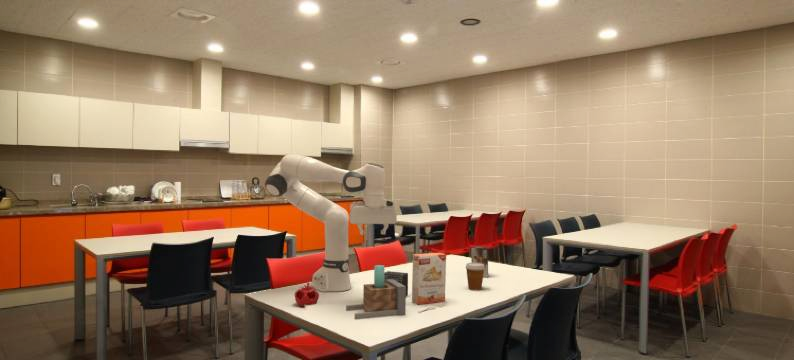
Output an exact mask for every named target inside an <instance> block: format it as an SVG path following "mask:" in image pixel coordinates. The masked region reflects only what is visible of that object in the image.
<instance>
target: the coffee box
mask: <svg viewBox="0 0 794 360" xmlns="http://www.w3.org/2000/svg"><path fill="white" fill-rule="evenodd" d="M470 249H471V250H470V251H471V258H470V259H471V260H470V261H471V262H470V263H482V264H484V267H485V269H484V274H483V278H486V279H487V278H489V247H488V246H476V245H475V246H471V248H470Z"/></svg>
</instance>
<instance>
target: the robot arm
mask: <svg viewBox="0 0 794 360" xmlns="http://www.w3.org/2000/svg"><path fill="white" fill-rule="evenodd" d="M385 171H386V170H385V168H384V167H383V165H381V164H377V163H372V162H369V163H366V164H365V165H364V166H362V167H360V168H357V169H354V170H347V169H343V168H339V167H335V166H332V165H330V164H327V163H325V162H324V161H322V160H318V159H316V158H313V157H310V156H306V155H302V154H295V153H293V154H291V153H289V154H285V155H284V156H283V157H282V158H281V159H280V161H279V162H278V163H277V164H276V166H274V168H273V169H272V171H271V172H270V173H269V175H268V176H267V177H266V179H265V182H264V187H265V190H266V191H267V192H268V193H269V194H271V196H274V197H281V196H282V198H284V199H285V200H286V201H288V203H290V204H291V205H293V207H296V208H297V209H299V210H300V211H302V212H303V213H305V214H306V215H308V216H309V217H312V218H314V219H316V220H318V221H319V222H322V223H323V224H324V239H325V241H324V243H325V244H324V245H325V247H324V249H325V250H324V251H325V252H324V253H325V254H324V255H325V256H324V257H325V258H324V259H321V263H322V266H321V267H320V268H318V270H316V271H315V272H314V273H313V274H312V278H311V279H312V280H311V282H308V283H309V287H310V286H311V287H312V285H313V287H315V288H313V287H312V288H311V289H314V290H316V291H318V292H323V293H324V292H344V291H348V290H351V289H352V283H351V276H350V269H349V268H350V258H349V222H350V224H352V225H357V228H358V229H359V235H360V236H361V235H362V236H364V235H365V230H363V228H362V227H363V225H383V229H381V230H380V234H381V235H386V233H387V232H386V231H387V230H388V228H389V225H395V224H396V223H397V219H398V218H397V214H398V213H397V208H395V206H396V202H395V201H393V200H390V199H389V198H386V197H385V186H386V172H385ZM300 181H302V182H307V183H310V182H311V183H324V182H334V183H339V184H342V185H343V186H342V187H343V188H344V190H345V191H347V192H349V193H352V194H363V201H353V202H352V203H351V204H350V205H349V211H350V214H349V212H348V211H347V209H345V208H344V207H342V206H340V205H339V204H337V203H336V202H333V201H332V200H329V198H326V197H324V196H323V195H321V194H320V193H318V192H316V191H314V190H313V189H312V188H310V187H308V186H306V185H305V184H303V183H302V182H300Z"/></svg>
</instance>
